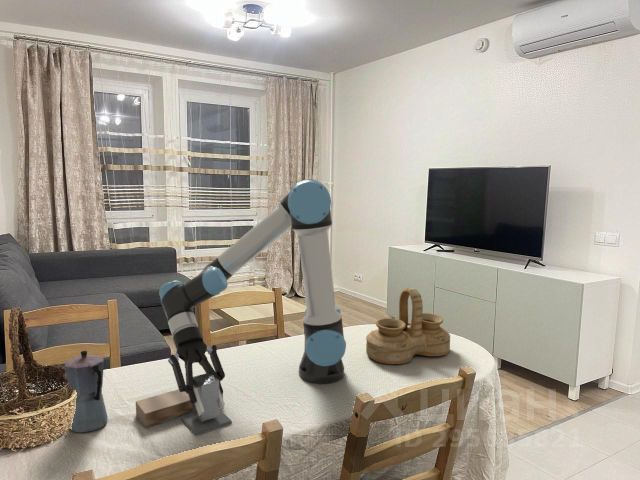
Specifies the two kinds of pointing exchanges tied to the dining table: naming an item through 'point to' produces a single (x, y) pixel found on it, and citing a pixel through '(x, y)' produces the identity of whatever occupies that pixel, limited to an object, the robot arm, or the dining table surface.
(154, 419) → the body
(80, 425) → the moka pot
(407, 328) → the ceramic vessel
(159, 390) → the dining table surface
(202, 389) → the grey rectangular block
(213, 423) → the rubber pad
